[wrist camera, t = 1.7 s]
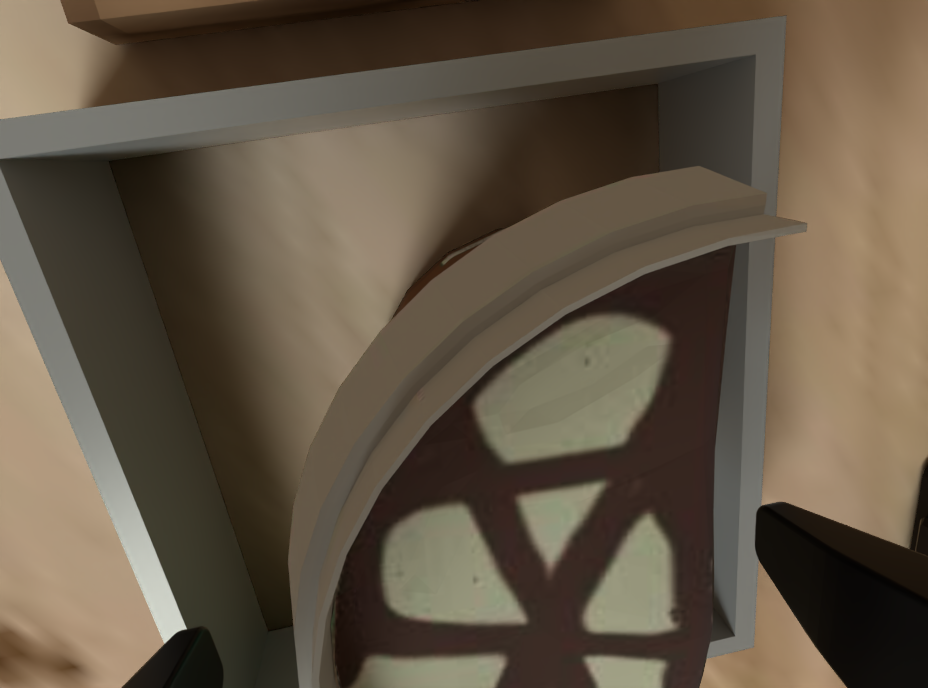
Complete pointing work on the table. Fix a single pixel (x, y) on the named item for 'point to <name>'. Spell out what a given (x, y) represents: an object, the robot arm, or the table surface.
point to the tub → (317, 109)
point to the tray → (212, 15)
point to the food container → (532, 455)
